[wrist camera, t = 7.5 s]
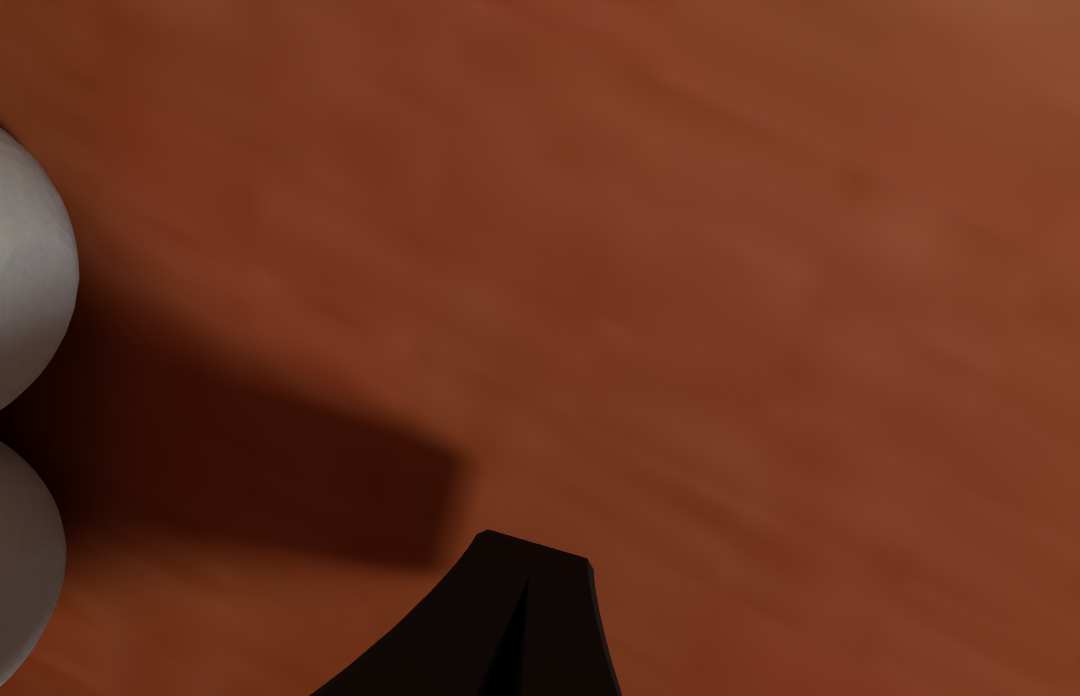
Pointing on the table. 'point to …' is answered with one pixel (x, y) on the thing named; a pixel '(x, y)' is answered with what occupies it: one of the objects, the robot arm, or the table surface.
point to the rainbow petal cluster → (10, 368)
